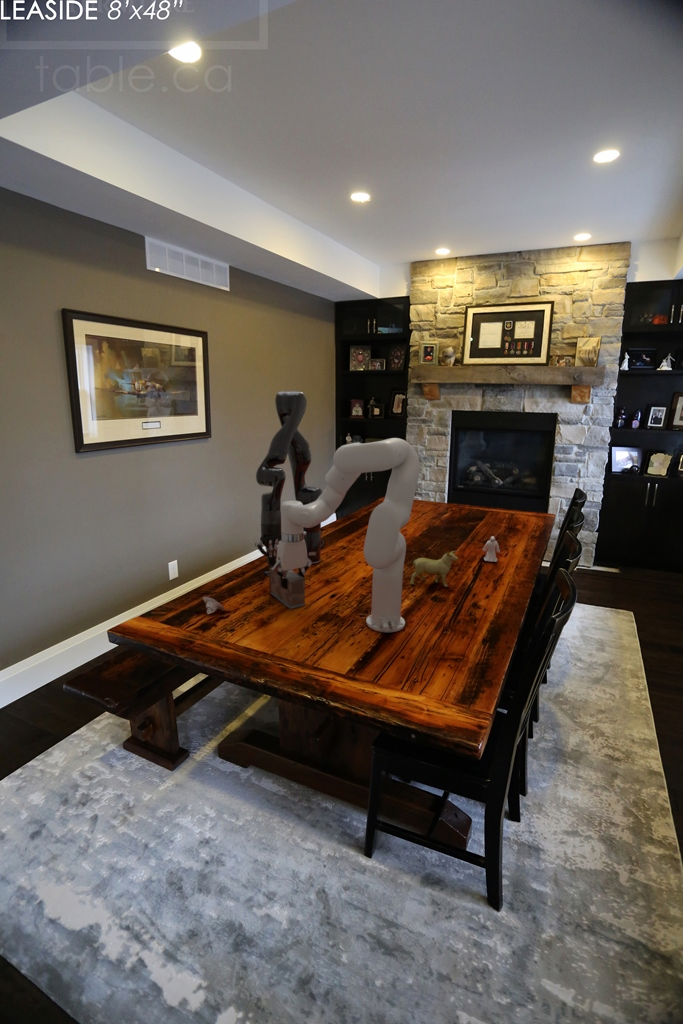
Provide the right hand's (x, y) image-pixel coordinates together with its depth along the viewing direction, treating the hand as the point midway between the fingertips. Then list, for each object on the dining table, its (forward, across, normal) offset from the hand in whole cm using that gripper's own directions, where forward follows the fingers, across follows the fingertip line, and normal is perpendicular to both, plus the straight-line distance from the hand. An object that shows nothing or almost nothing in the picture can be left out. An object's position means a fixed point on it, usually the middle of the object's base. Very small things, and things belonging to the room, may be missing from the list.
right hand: (292, 585), depth 175 cm
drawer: (+6, 0, -10) cm, 11 cm away
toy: (+7, -55, +14) cm, 57 cm away
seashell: (+7, +26, -8) cm, 28 cm away
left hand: (-2, 0, -16) cm, 16 cm away
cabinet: (+7, 0, -4) cm, 8 cm away
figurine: (+7, -98, +6) cm, 98 cm away
